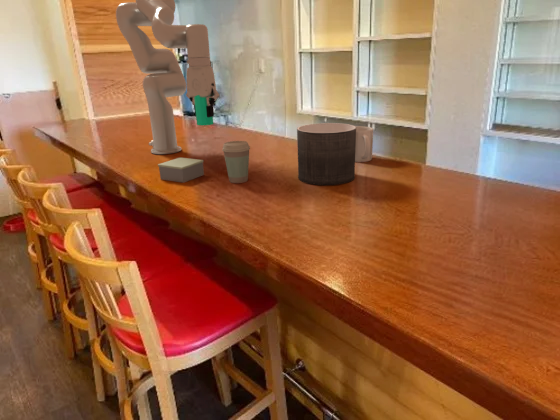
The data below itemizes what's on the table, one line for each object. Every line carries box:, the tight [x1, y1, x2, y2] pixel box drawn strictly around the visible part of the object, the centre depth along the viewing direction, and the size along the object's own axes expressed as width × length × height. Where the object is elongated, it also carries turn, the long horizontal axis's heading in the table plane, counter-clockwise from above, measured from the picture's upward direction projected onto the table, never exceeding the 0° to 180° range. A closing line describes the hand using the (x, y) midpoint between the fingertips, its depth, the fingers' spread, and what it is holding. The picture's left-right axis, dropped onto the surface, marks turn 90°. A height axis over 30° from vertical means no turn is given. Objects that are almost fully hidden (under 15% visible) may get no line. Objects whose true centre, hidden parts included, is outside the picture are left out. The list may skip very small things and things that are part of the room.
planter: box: [296, 122, 357, 186], centre depth 130 cm, size 18×18×16 cm
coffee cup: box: [222, 140, 251, 184], centre depth 131 cm, size 8×9×12 cm
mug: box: [355, 126, 374, 163], centre depth 152 cm, size 10×12×11 cm
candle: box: [194, 95, 214, 126], centre depth 152 cm, size 6×6×12 cm
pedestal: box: [157, 157, 205, 184], centre depth 139 cm, size 10×10×5 cm
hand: (204, 115), depth 153 cm, fingers closed on candle, 4 cm apart
